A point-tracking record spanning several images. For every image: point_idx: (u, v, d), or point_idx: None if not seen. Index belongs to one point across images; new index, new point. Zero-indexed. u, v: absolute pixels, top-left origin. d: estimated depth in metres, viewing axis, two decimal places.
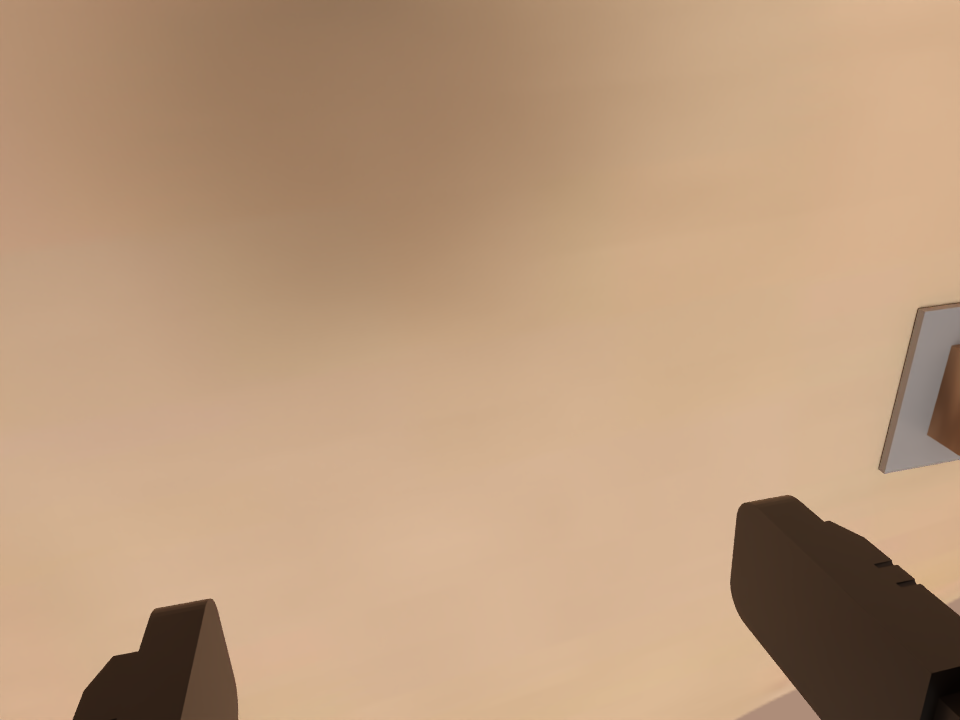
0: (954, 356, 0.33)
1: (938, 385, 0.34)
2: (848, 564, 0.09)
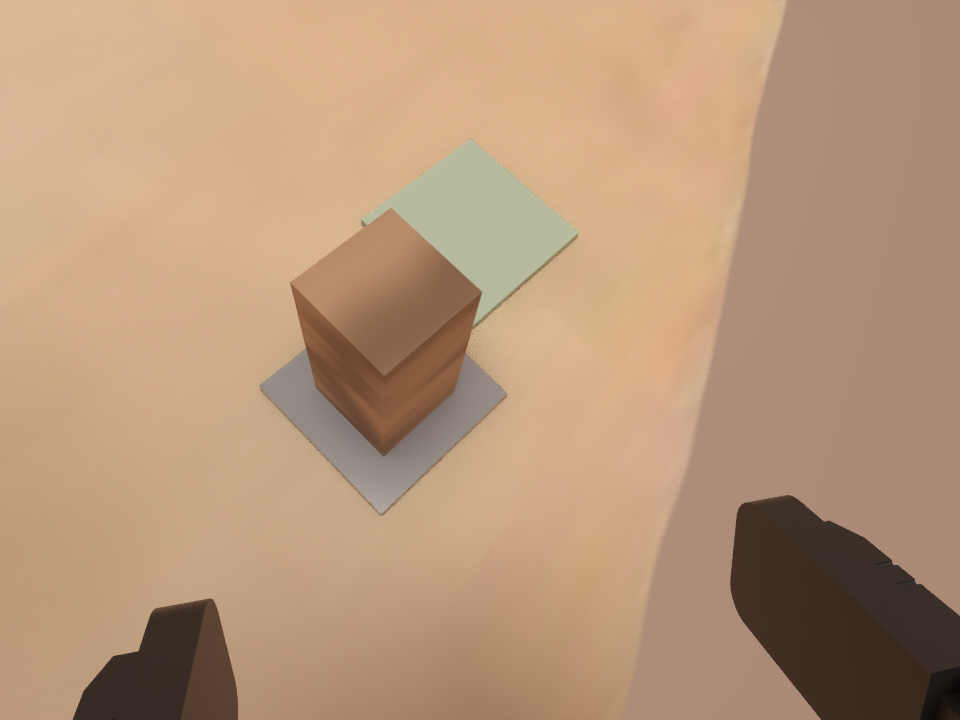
0: (321, 391, 0.35)
1: (342, 418, 0.35)
2: (848, 564, 0.09)
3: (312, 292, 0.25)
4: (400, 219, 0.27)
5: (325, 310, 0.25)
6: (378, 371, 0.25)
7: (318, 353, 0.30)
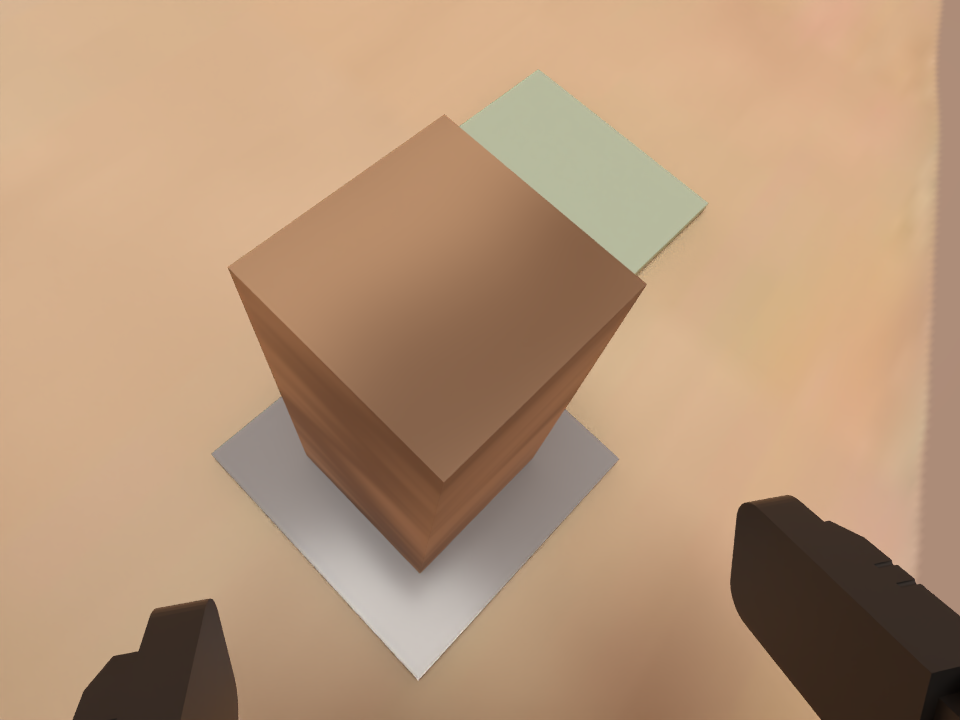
0: (314, 462, 0.21)
1: (350, 507, 0.21)
2: (848, 564, 0.09)
3: (278, 287, 0.11)
4: (463, 137, 0.13)
5: (305, 329, 0.11)
6: (429, 470, 0.10)
7: (302, 409, 0.16)
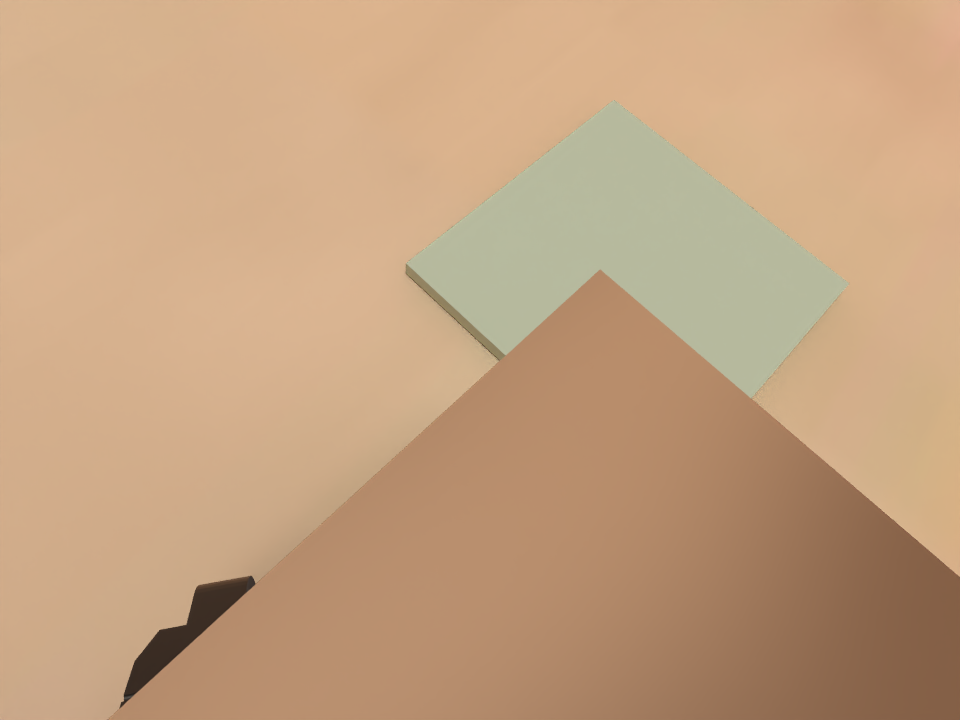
0: None
1: None
2: None
3: None
4: (645, 324, 0.06)
5: None
6: None
7: None
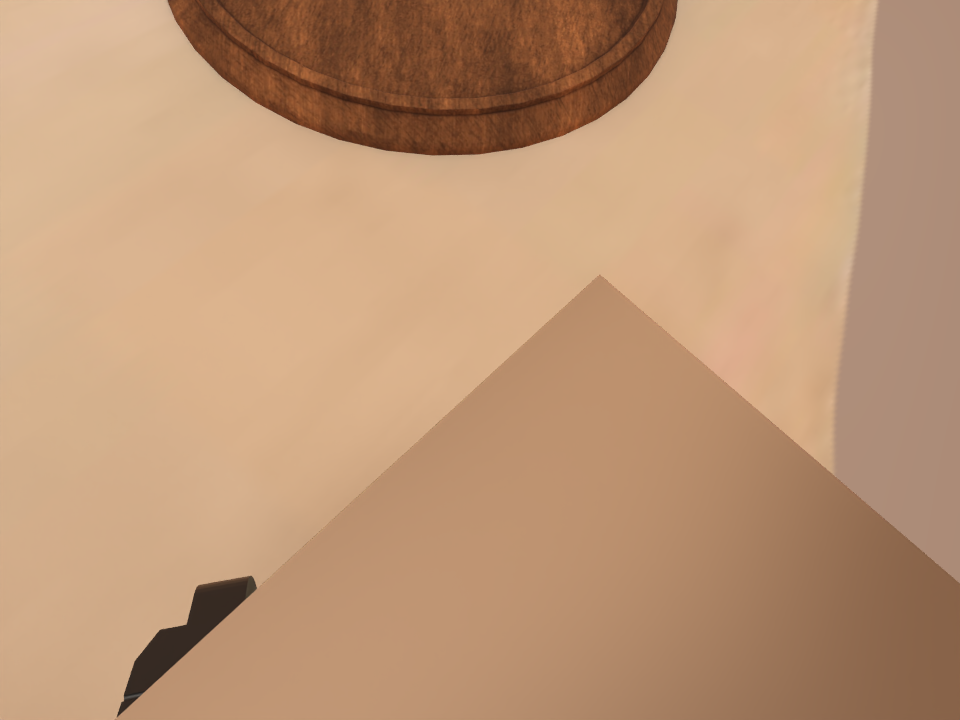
0: None
1: None
2: None
3: None
4: (645, 331, 0.06)
5: None
6: None
7: None
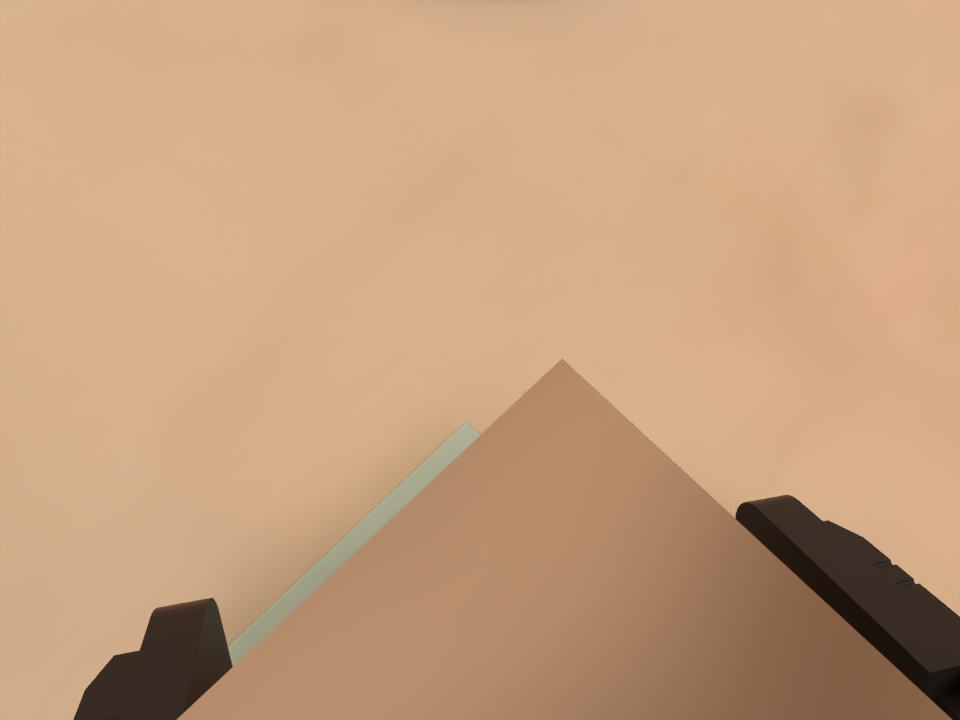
0: None
1: None
2: (847, 564, 0.09)
3: None
4: (598, 408, 0.07)
5: None
6: None
7: None
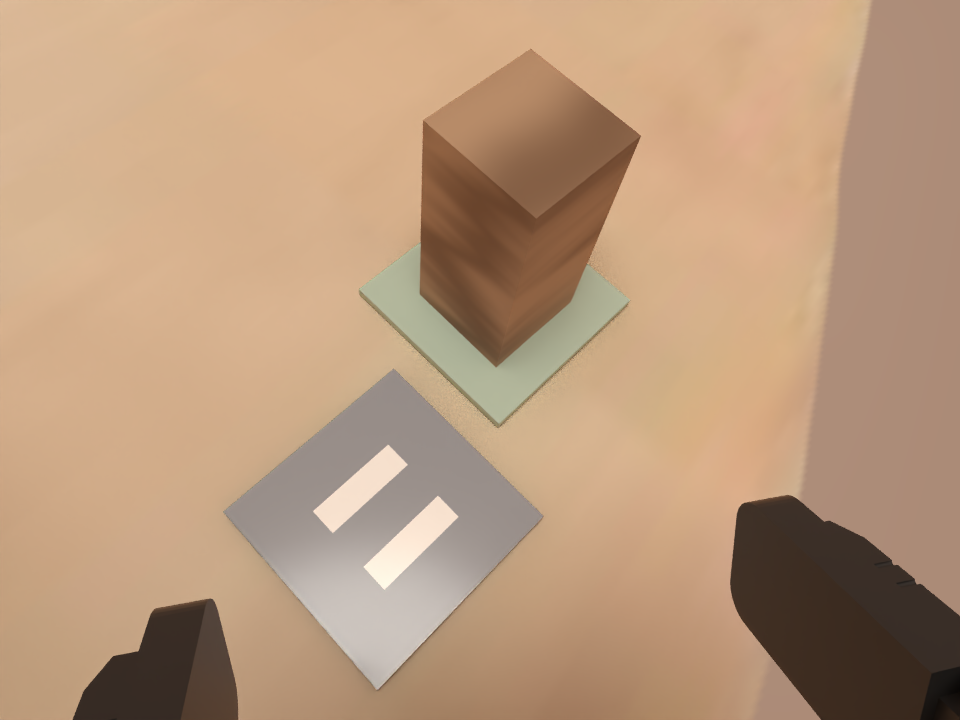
0: (426, 297, 0.32)
1: (329, 554, 0.27)
2: (848, 564, 0.09)
3: (449, 130, 0.22)
4: (541, 61, 0.24)
5: (464, 149, 0.22)
6: (528, 214, 0.21)
7: (438, 230, 0.26)
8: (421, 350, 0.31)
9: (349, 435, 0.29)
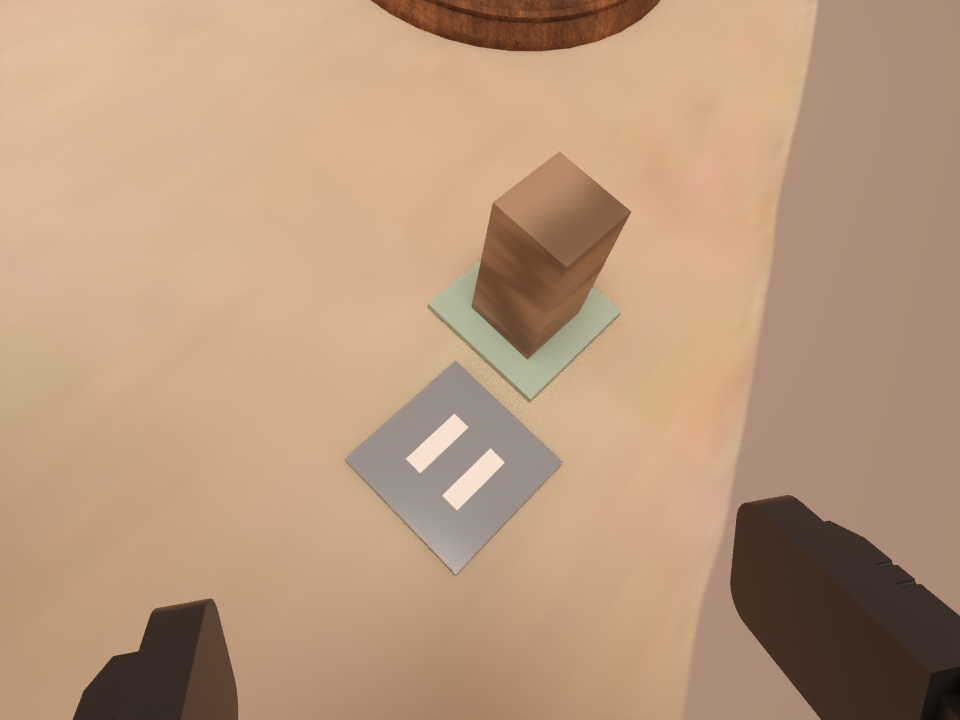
0: (476, 309, 0.44)
1: (418, 487, 0.39)
2: (848, 564, 0.09)
3: (509, 209, 0.34)
4: (566, 160, 0.36)
5: (520, 222, 0.34)
6: (561, 264, 0.34)
7: (493, 267, 0.39)
8: (474, 347, 0.43)
9: (427, 407, 0.41)
